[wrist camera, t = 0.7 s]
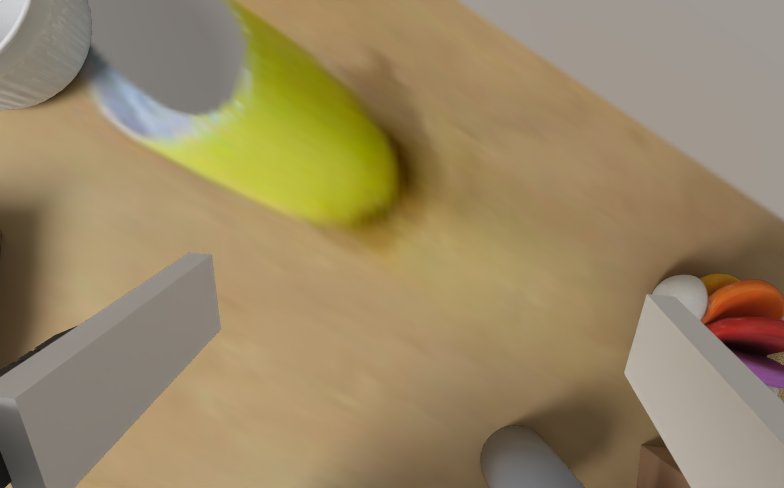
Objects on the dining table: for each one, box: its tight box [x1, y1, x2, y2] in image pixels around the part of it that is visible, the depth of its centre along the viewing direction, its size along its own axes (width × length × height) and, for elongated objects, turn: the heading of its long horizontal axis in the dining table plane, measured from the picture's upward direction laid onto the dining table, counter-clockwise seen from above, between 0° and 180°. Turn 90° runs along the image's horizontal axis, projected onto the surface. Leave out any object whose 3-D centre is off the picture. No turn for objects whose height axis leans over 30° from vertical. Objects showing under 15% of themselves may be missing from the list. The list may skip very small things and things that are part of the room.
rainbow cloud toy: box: [652, 274, 784, 396], centre depth 28 cm, size 8×10×7 cm
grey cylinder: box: [480, 425, 585, 488], centre depth 27 cm, size 5×5×6 cm
